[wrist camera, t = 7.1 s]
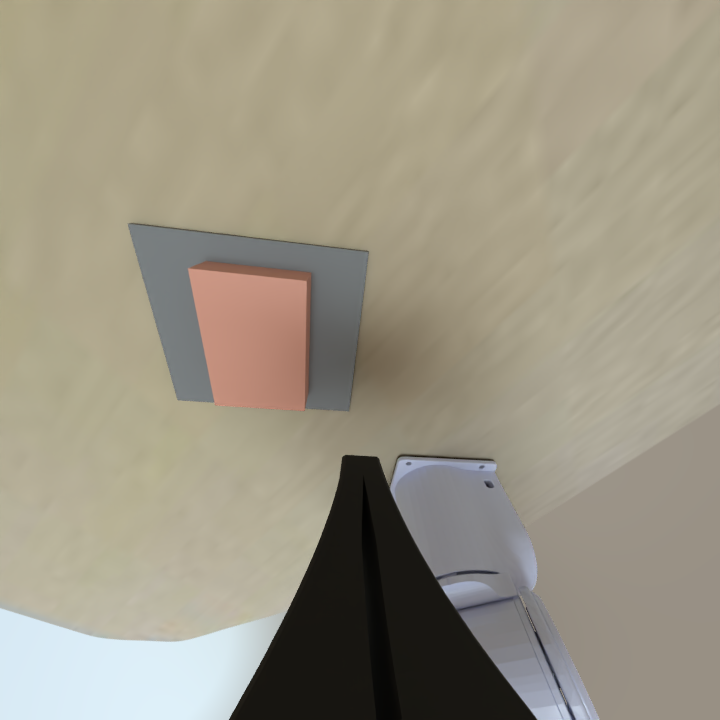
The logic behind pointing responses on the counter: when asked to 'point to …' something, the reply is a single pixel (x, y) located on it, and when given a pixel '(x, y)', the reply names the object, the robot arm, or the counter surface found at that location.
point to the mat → (188, 248)
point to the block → (254, 333)
